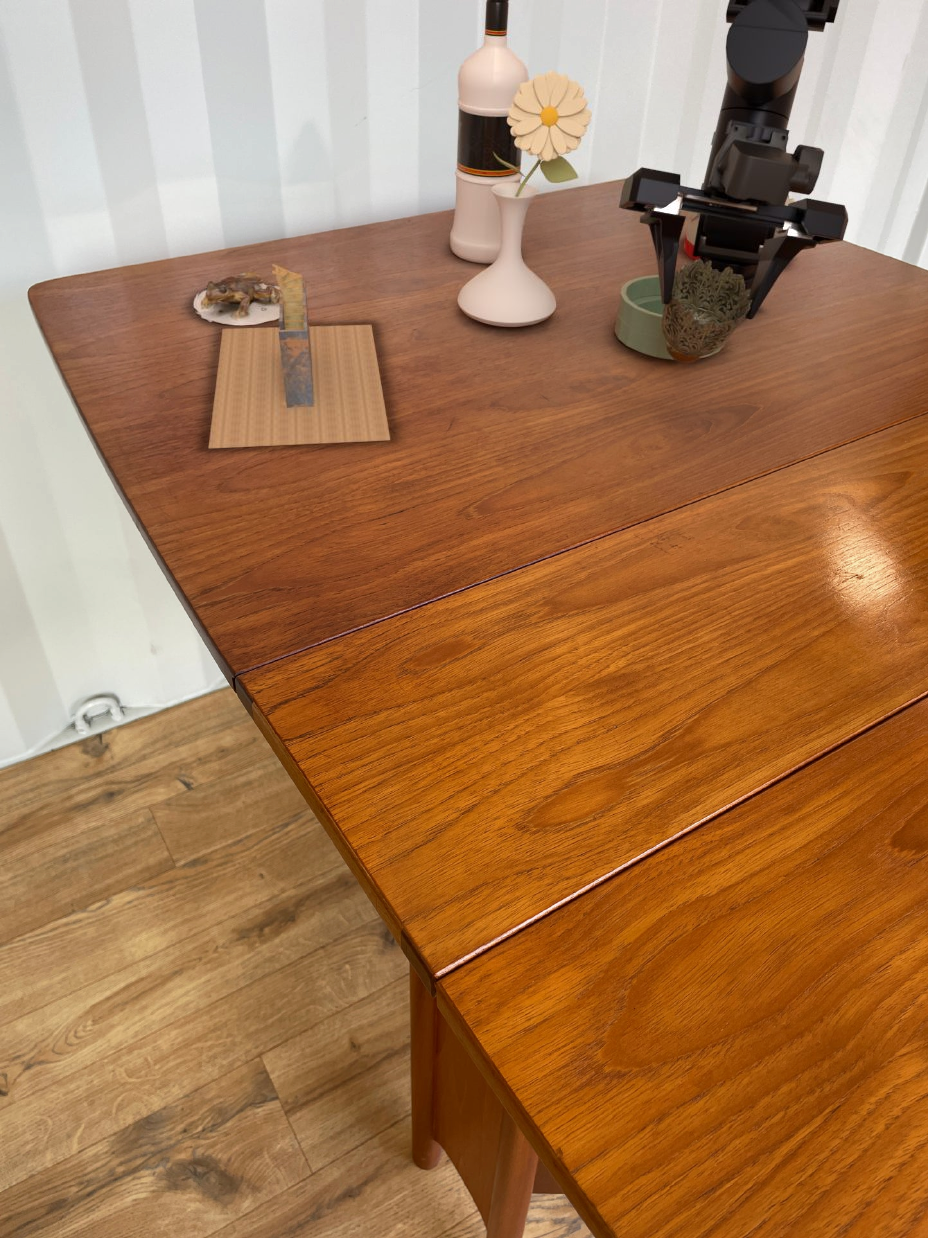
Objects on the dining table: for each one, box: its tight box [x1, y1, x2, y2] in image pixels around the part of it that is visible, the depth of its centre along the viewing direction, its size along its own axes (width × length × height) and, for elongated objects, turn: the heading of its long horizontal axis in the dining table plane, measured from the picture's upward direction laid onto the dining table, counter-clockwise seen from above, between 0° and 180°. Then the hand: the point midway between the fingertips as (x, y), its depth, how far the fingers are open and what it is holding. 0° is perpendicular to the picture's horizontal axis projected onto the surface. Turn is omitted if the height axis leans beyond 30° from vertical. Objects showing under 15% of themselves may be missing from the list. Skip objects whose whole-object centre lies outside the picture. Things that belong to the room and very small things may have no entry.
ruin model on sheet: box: [208, 263, 391, 449], centre depth 87 cm, size 25×16×10 cm, turn 8°
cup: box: [662, 259, 752, 364], centre depth 83 cm, size 8×7×8 cm
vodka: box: [449, 0, 530, 265], centre depth 108 cm, size 9×9×30 cm
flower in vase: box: [457, 70, 592, 328], centre depth 95 cm, size 13×11×25 cm
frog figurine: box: [193, 269, 280, 326], centre depth 102 cm, size 12×12×4 cm
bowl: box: [613, 274, 727, 361], centre depth 99 cm, size 12×12×5 cm
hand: (706, 311), depth 80 cm, fingers closed on cup, 7 cm apart
